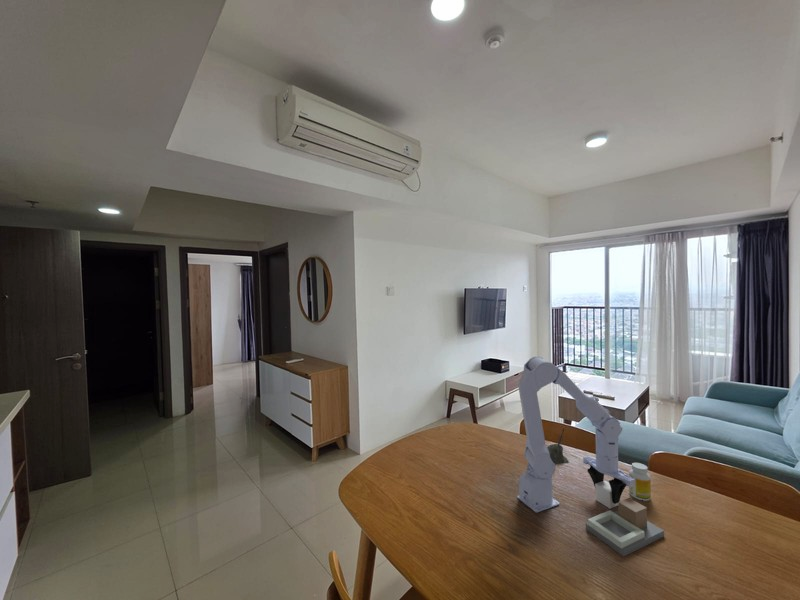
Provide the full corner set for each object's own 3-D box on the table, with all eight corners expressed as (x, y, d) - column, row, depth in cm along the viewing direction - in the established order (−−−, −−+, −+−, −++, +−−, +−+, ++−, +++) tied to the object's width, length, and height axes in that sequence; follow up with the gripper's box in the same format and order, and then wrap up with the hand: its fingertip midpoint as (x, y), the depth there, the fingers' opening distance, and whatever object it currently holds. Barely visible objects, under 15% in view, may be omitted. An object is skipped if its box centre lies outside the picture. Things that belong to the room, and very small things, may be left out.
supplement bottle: (625, 493, 101) (624, 463, 101) (636, 489, 103) (636, 459, 103) (643, 503, 96) (642, 471, 96) (655, 499, 98) (654, 468, 98)
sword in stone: (542, 462, 121) (541, 430, 121) (538, 453, 128) (537, 423, 129) (571, 465, 118) (570, 432, 119) (565, 455, 126) (564, 425, 126)
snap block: (609, 508, 94) (609, 491, 94) (595, 499, 98) (595, 483, 98) (620, 504, 95) (619, 488, 95) (605, 496, 100) (605, 480, 99)
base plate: (623, 556, 77) (623, 529, 77) (585, 528, 86) (585, 505, 86) (664, 536, 83) (663, 511, 83) (624, 512, 92) (624, 490, 92)
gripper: (640, 461, 91) (641, 508, 91) (593, 440, 105) (594, 481, 105) (624, 467, 89) (625, 515, 89) (578, 445, 102) (579, 486, 102)
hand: (607, 497), depth 97 cm, fingers closed on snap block, 4 cm apart
